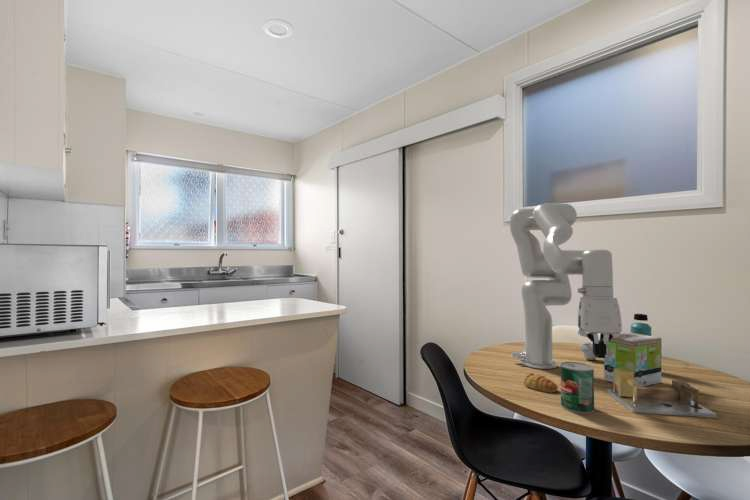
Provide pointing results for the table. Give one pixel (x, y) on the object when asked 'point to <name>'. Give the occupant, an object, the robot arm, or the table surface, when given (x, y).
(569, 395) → the canned tomato
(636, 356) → the tea box
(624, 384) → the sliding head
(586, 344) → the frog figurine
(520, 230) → the robot arm
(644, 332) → the beverage bottle
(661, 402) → the bolt plate
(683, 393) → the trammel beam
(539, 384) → the pastry
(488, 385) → the table surface
